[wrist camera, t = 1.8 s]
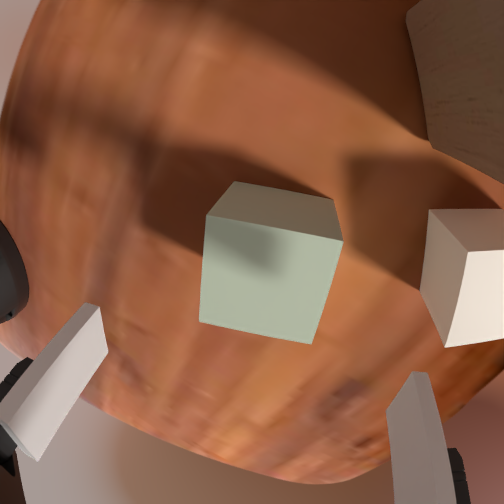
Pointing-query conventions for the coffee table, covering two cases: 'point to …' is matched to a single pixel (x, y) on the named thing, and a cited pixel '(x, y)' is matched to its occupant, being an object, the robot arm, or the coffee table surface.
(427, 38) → the wooden block
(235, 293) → the sage cube
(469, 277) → the cream cube
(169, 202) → the coffee table surface
